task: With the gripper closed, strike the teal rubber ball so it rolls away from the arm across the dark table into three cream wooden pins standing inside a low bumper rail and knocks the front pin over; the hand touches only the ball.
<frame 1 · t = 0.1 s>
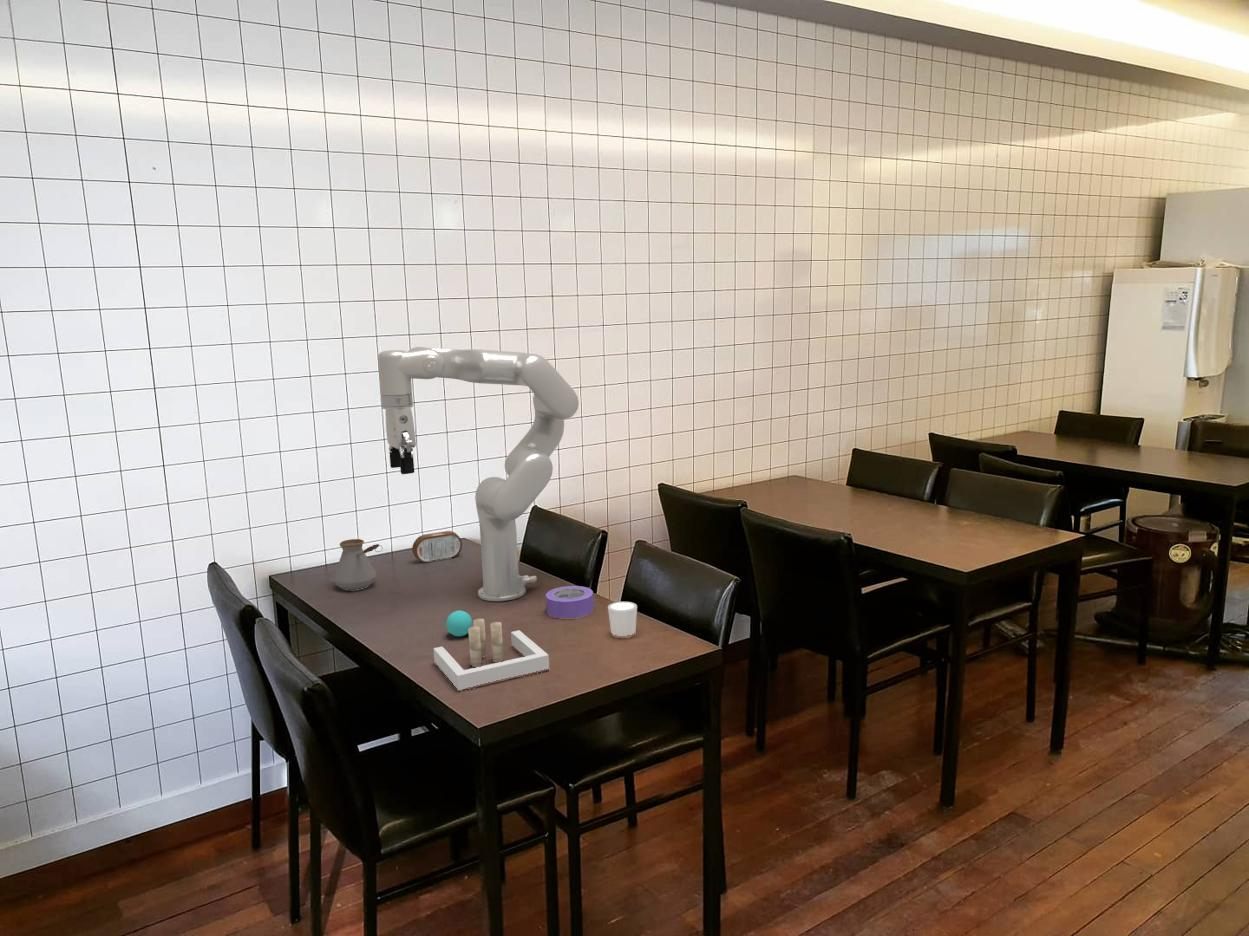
hand: (402, 470, 230), 37 cm above the table, tool pointing down, fingers open, 9 cm apart
pin right: (476, 665, 202), on the table
tape roll: (570, 612, 233), on the table
pin left: (498, 660, 204), on the table
coffee pot: (364, 591, 255), on the table
bumper: (490, 666, 201), on the table
tin: (438, 560, 281), on the table
ball: (459, 623, 219), on the table
white cup: (623, 635, 217), on the table
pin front: (481, 656, 206), on the table
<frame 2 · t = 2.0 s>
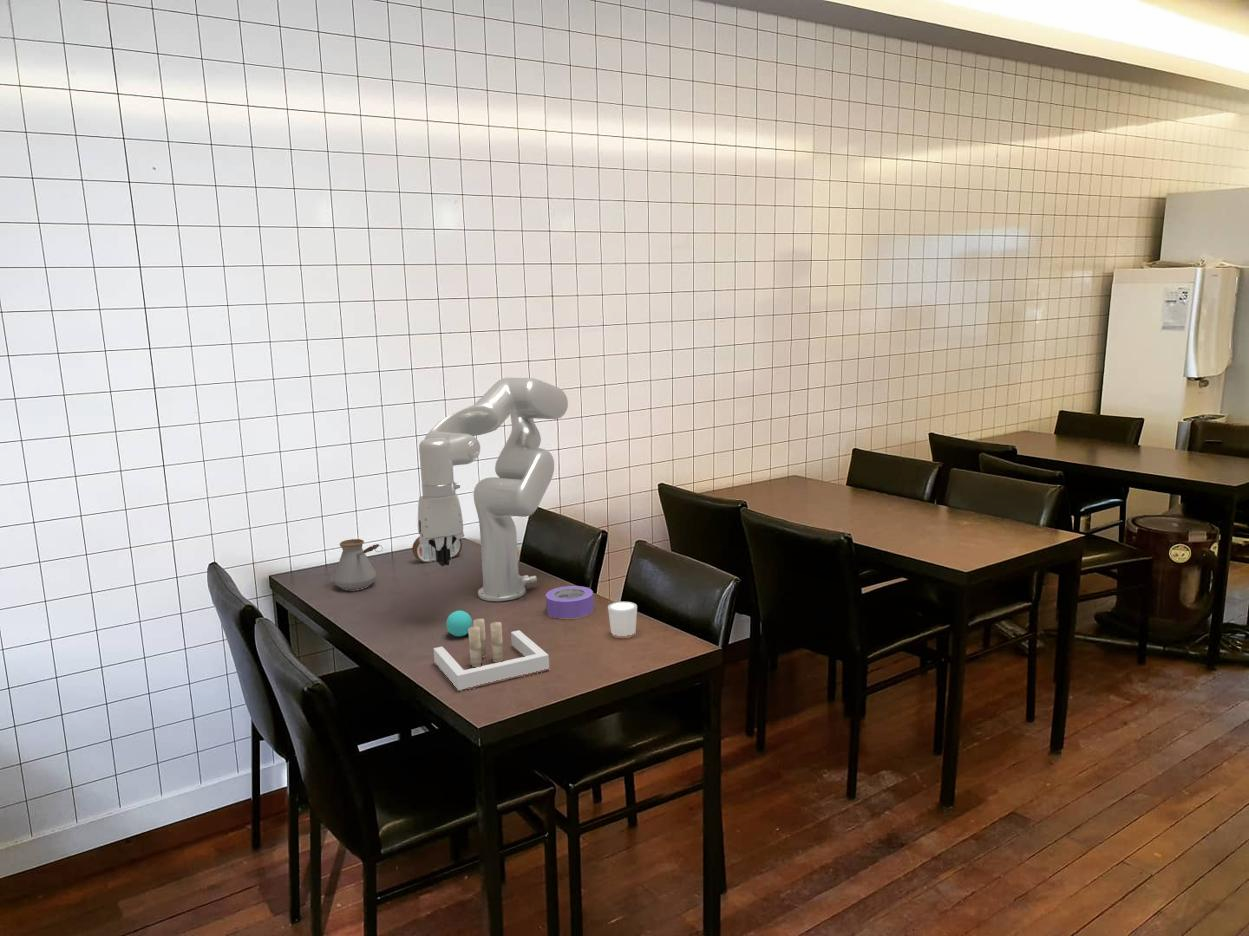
hand: (443, 564, 225), 15 cm above the table, tool pointing down, fingers closed
nothing on the table moved.
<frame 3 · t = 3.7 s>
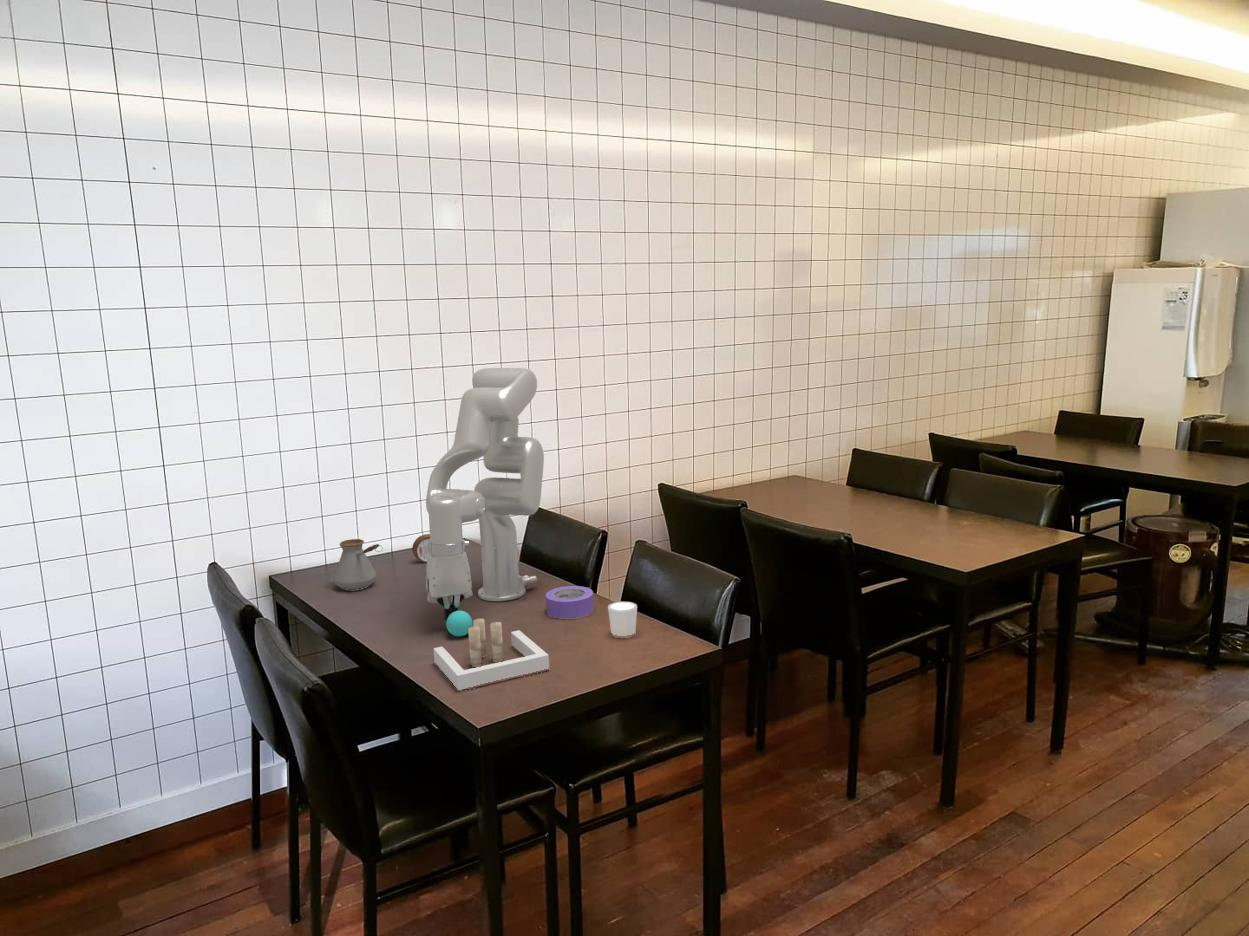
hand: (451, 622, 223), 2 cm above the table, tool pointing down, fingers closed
ball: (459, 623, 219), on the table, touching gripper
everything else where it was.
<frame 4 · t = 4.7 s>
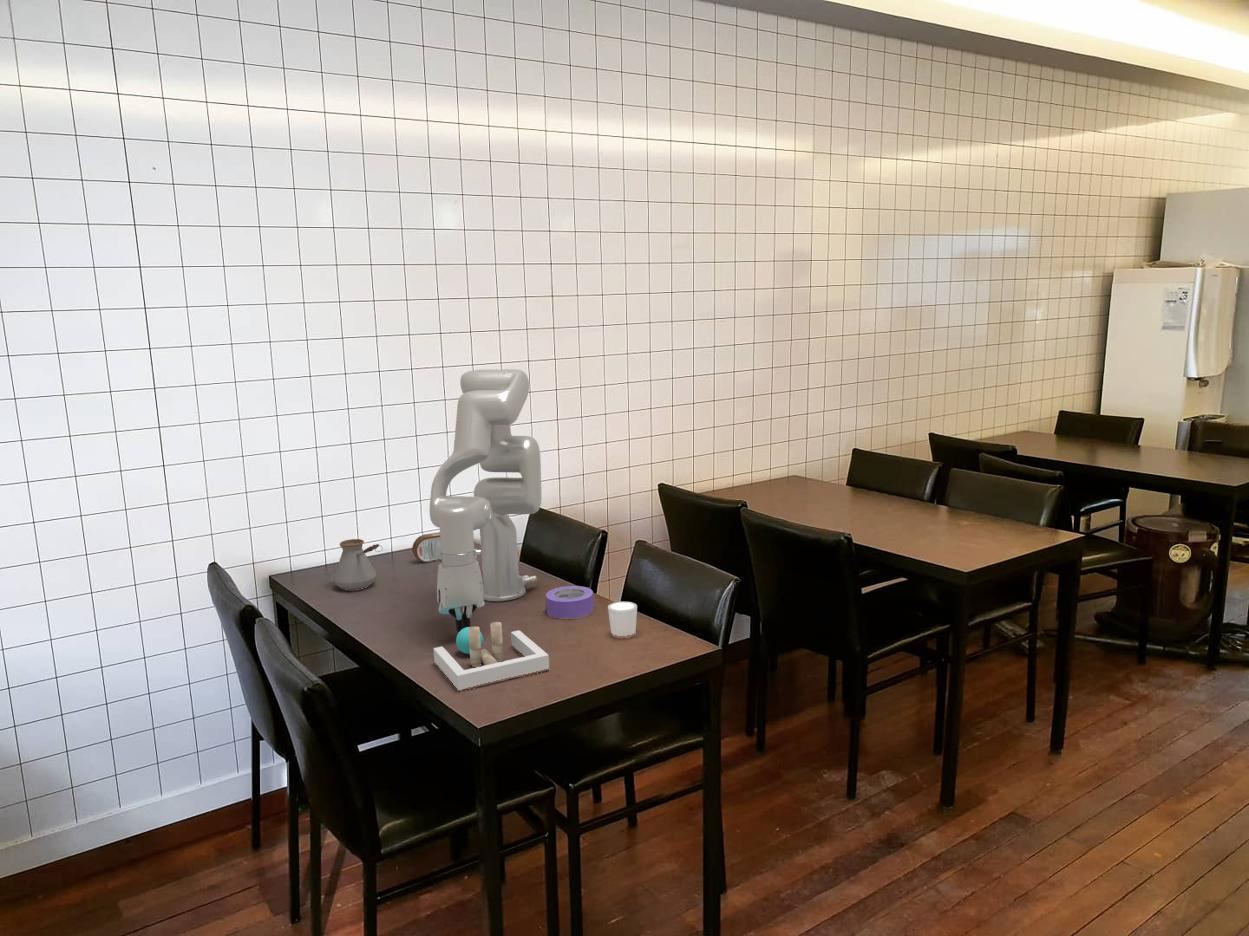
hand: (463, 633, 216), 2 cm above the table, tool pointing down, fingers closed
ball: (469, 640, 208), on the table
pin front: (482, 654, 205), point 1 cm above the table, tilted 90°
everything else where it was.
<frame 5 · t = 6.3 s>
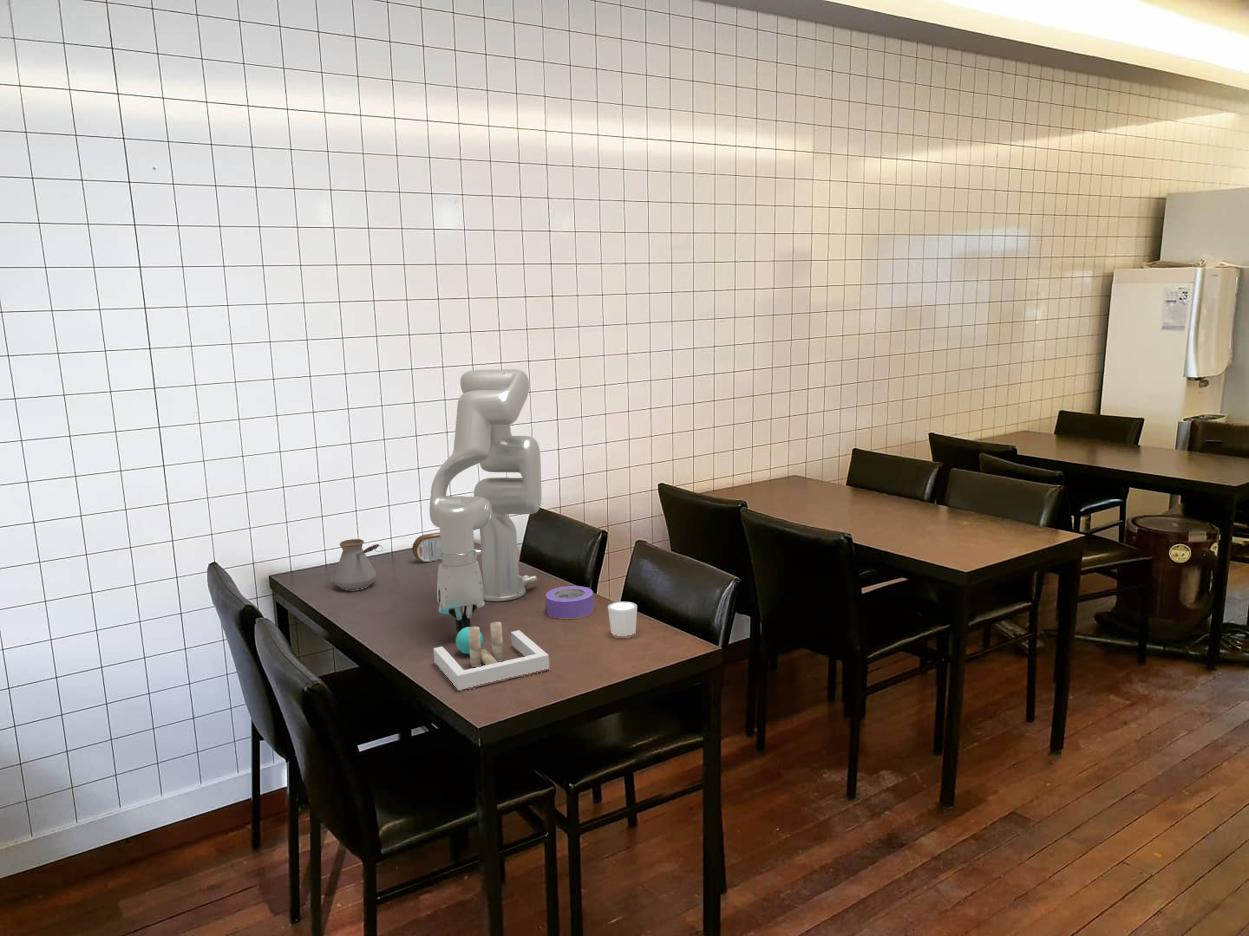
hand: (463, 633, 216), 2 cm above the table, tool pointing down, fingers closed
nothing on the table moved.
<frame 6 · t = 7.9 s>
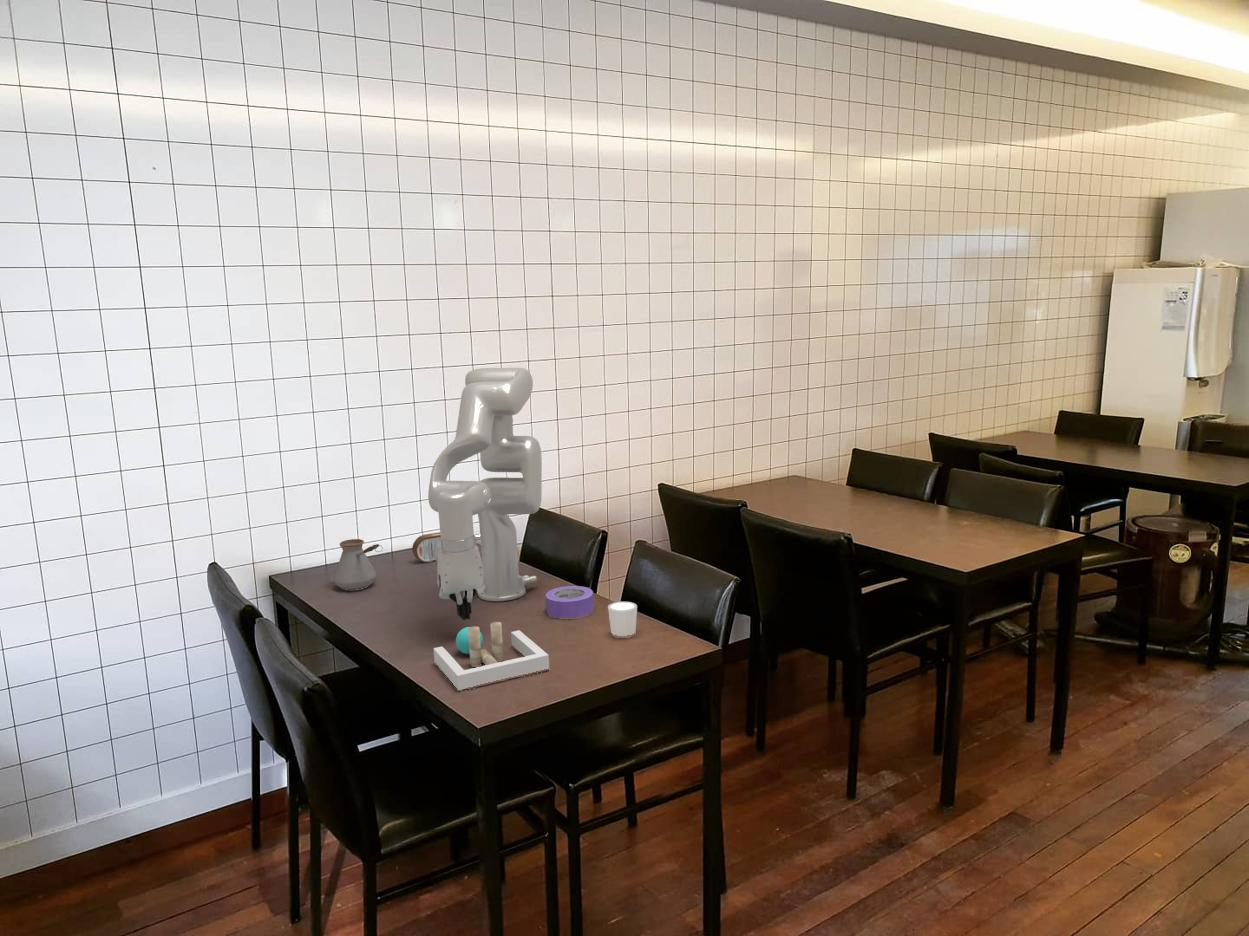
hand: (464, 617, 217), 5 cm above the table, tool pointing down, fingers closed
nothing on the table moved.
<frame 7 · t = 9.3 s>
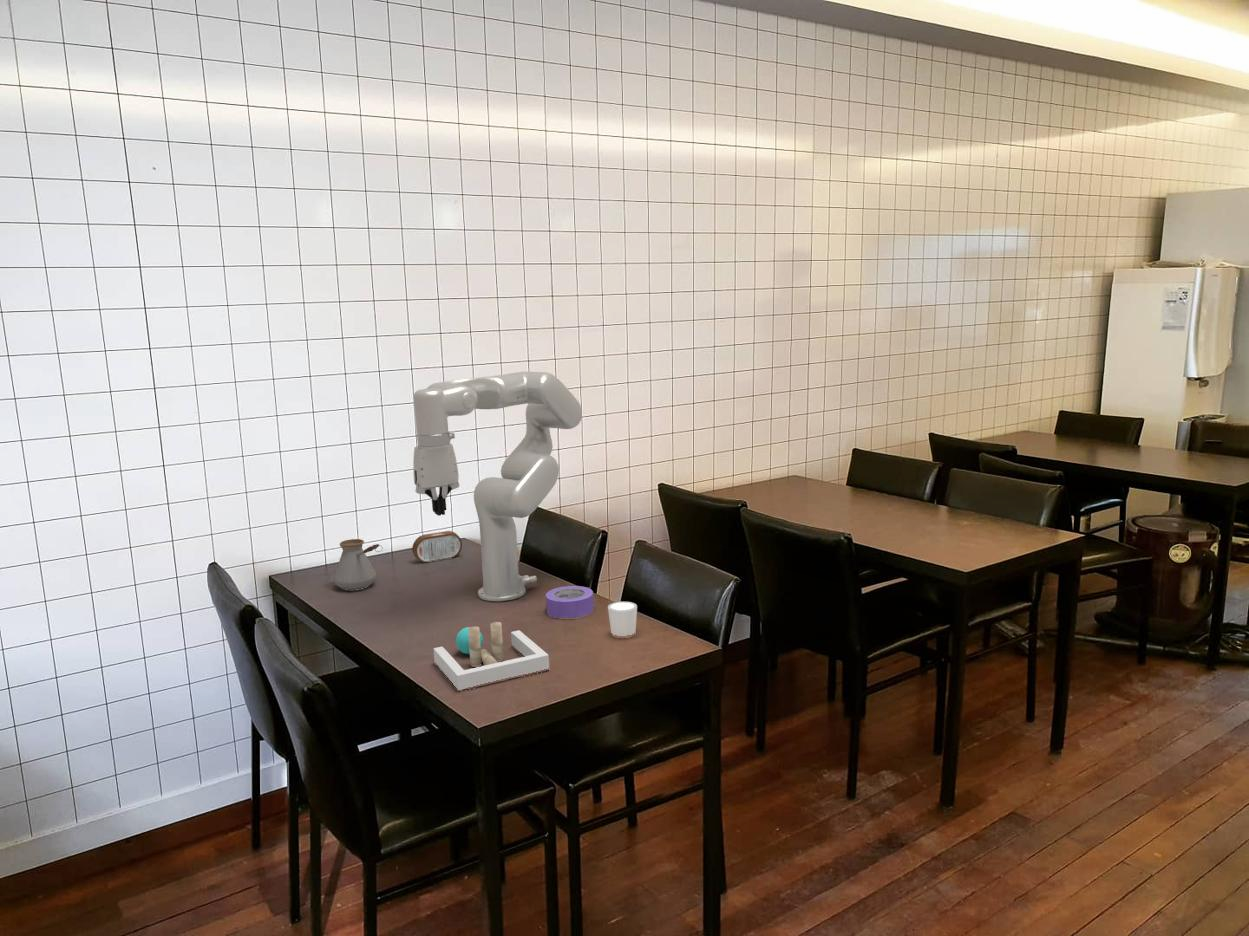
hand: (439, 513, 227), 26 cm above the table, tool pointing down, fingers closed
nothing on the table moved.
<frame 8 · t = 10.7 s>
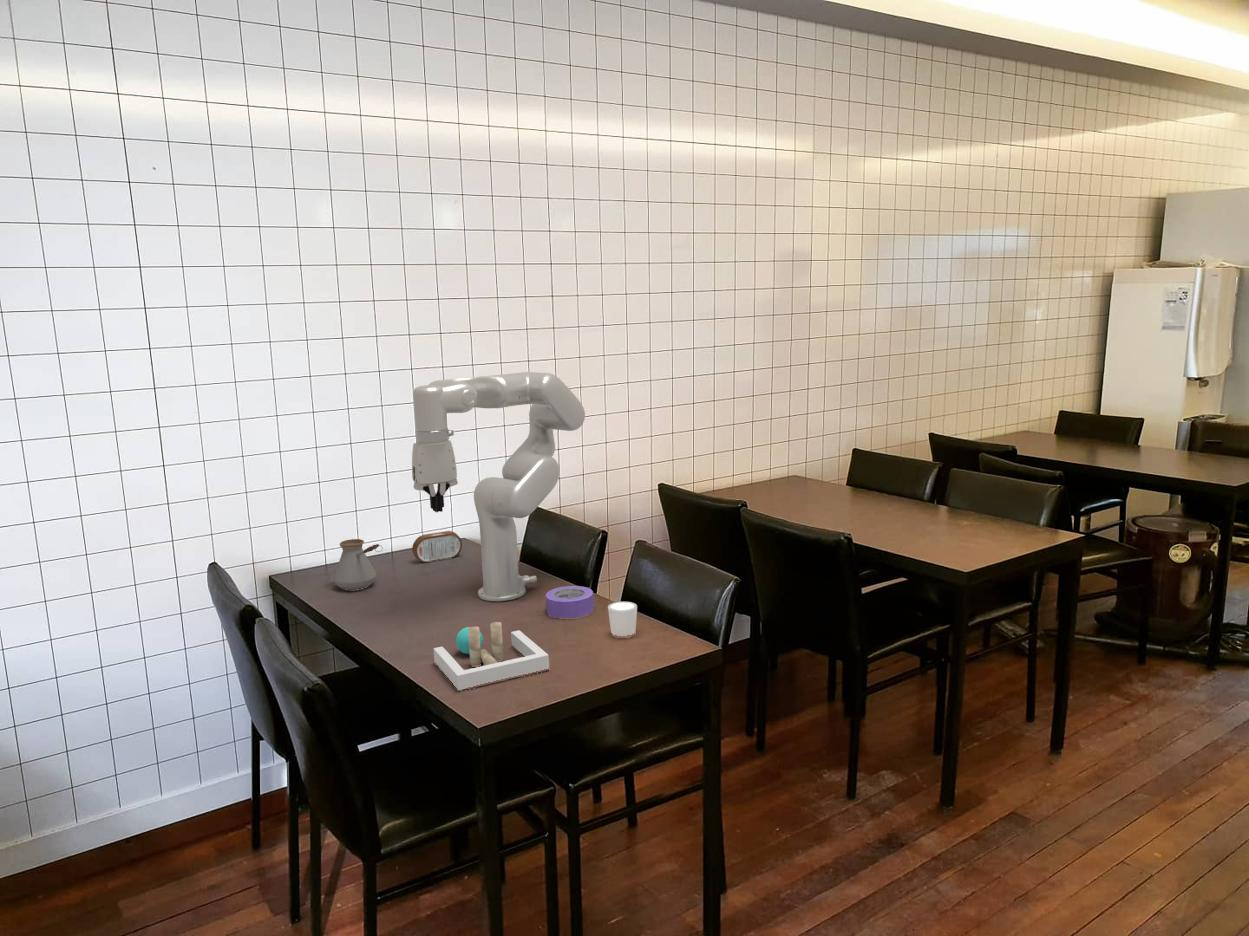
hand: (437, 510, 227), 27 cm above the table, tool pointing down, fingers closed
nothing on the table moved.
at the end: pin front tilted 90°; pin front never touched the robot; ball moved 11.7 cm from its start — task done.
